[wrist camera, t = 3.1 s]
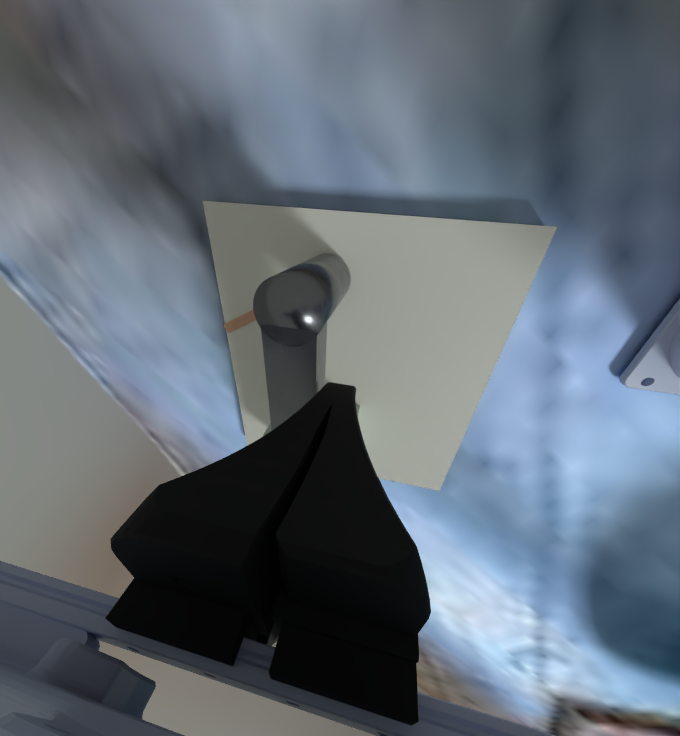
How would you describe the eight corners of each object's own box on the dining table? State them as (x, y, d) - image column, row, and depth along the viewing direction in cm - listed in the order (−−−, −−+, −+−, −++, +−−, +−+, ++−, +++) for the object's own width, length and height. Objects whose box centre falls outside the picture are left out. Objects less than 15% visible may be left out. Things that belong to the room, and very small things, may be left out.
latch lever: (352, 255, 12) (324, 279, 7) (337, 435, 19) (317, 510, 14) (305, 251, 13) (248, 271, 8) (306, 429, 19) (275, 500, 14)
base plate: (545, 226, 11) (558, 227, 10) (437, 479, 21) (439, 491, 20) (212, 201, 13) (199, 200, 12) (252, 441, 23) (246, 451, 22)
